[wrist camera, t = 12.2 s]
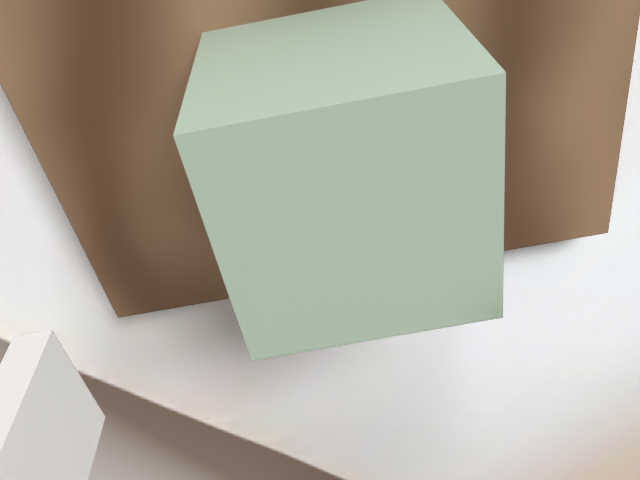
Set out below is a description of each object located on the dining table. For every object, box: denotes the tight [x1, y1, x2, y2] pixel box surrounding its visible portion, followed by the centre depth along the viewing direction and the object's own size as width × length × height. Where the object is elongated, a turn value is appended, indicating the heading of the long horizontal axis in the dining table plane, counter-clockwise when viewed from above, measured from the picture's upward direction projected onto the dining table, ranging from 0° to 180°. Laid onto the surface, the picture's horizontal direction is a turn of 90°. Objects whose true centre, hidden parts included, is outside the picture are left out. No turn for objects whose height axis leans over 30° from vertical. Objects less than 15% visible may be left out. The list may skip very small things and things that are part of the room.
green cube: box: [173, 0, 506, 361], centre depth 17 cm, size 7×7×7 cm
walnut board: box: [0, 0, 640, 318], centre depth 21 cm, size 20×14×2 cm
